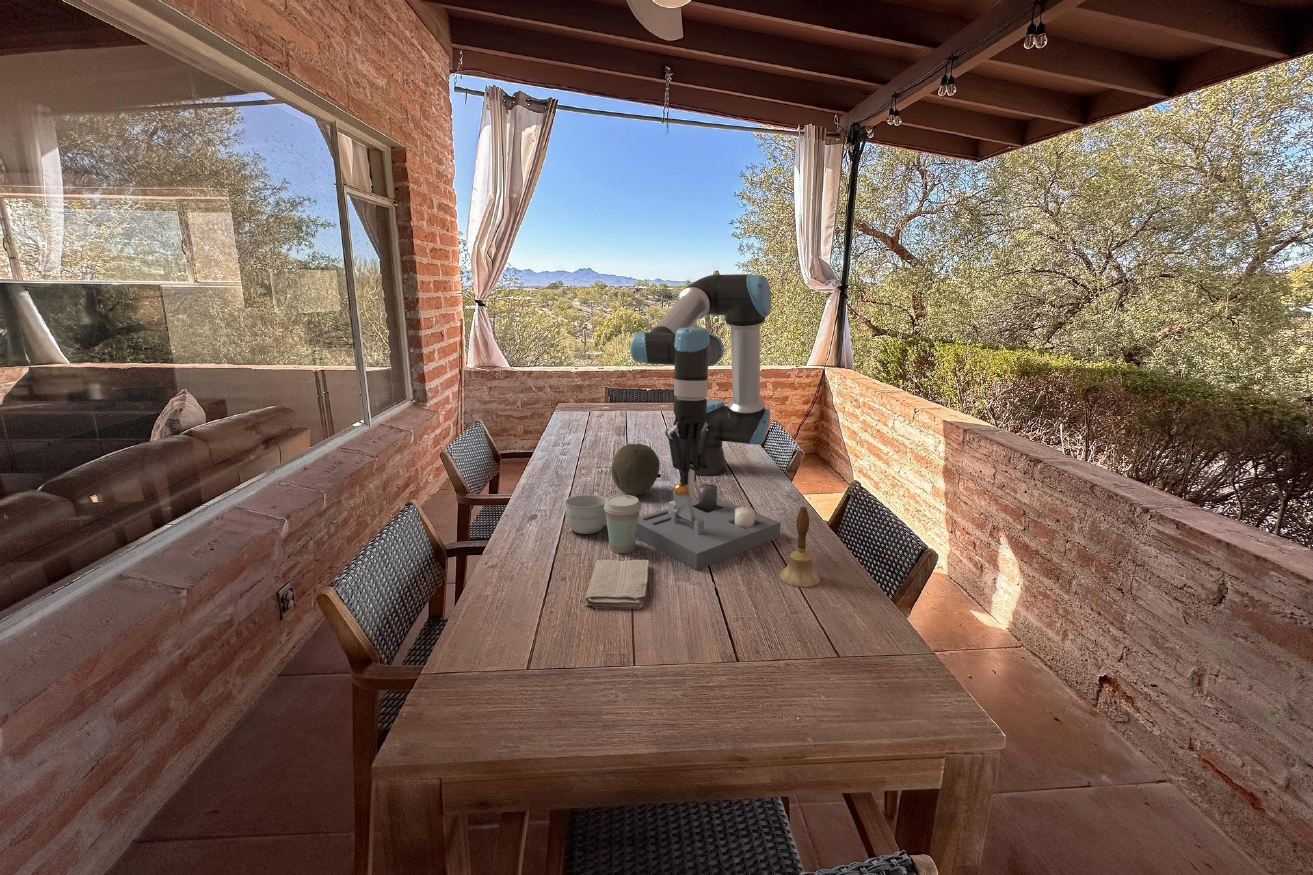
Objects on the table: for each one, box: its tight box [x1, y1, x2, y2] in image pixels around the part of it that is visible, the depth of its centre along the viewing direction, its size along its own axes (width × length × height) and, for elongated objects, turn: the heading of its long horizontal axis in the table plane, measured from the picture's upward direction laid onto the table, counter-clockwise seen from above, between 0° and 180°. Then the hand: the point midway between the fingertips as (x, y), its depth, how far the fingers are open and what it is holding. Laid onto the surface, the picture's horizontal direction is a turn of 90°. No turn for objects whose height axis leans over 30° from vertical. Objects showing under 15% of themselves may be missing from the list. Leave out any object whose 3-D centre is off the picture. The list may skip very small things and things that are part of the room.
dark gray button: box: [697, 483, 718, 511], centre depth 151 cm, size 5×5×6 cm
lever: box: [672, 483, 696, 525], centre depth 136 cm, size 3×6×10 cm, turn 38°
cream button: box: [734, 506, 756, 529], centre depth 142 cm, size 5×5×6 cm
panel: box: [636, 497, 782, 571], centre depth 142 cm, size 28×24×7 cm
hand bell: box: [779, 506, 821, 589], centre depth 121 cm, size 8×8×16 cm
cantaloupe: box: [611, 443, 661, 497], centre depth 171 cm, size 14×14×15 cm
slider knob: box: [667, 500, 676, 515], centre depth 146 cm, size 2×2×3 cm
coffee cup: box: [604, 494, 642, 554], centre depth 135 cm, size 9×8×12 cm
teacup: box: [564, 494, 608, 535], centre depth 145 cm, size 14×11×8 cm
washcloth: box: [584, 559, 650, 610], centre depth 119 cm, size 12×18×3 cm, turn 179°
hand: (687, 496), depth 136 cm, fingers closed
